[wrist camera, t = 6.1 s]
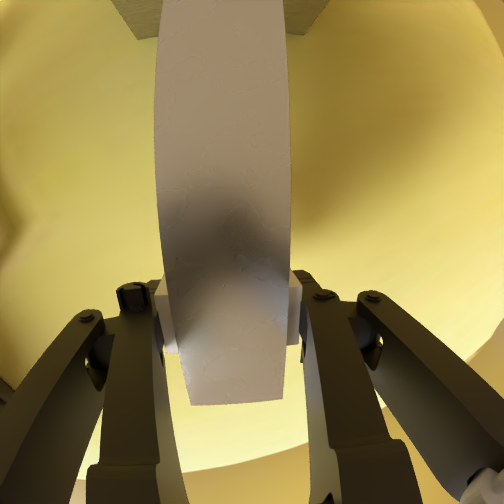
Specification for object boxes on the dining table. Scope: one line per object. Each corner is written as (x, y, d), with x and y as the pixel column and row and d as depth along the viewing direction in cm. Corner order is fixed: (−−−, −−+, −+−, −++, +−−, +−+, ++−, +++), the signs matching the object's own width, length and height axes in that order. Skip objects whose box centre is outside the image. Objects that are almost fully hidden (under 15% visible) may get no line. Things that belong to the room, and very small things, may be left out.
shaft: (267, 347, 14) (282, 398, 11) (195, 351, 14) (191, 405, 10) (258, -67, 7) (267, -104, 3) (192, -66, 6) (190, -104, 2)
